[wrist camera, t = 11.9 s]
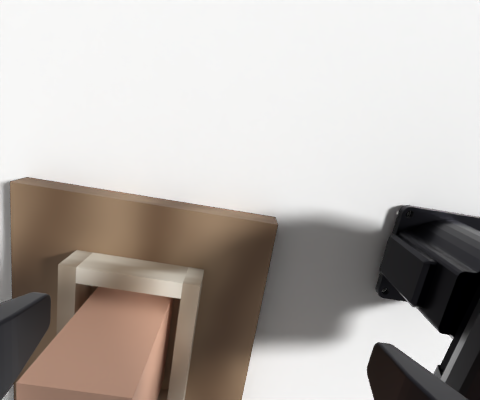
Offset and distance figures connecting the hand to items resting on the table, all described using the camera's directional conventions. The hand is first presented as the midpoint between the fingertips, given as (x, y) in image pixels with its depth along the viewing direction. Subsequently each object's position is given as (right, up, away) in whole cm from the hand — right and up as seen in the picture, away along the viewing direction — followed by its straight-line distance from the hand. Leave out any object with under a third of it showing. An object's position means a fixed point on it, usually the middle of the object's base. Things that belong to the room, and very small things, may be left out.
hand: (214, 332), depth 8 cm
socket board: (-6, -5, +14) cm, 16 cm away
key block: (-6, -5, +12) cm, 15 cm away
